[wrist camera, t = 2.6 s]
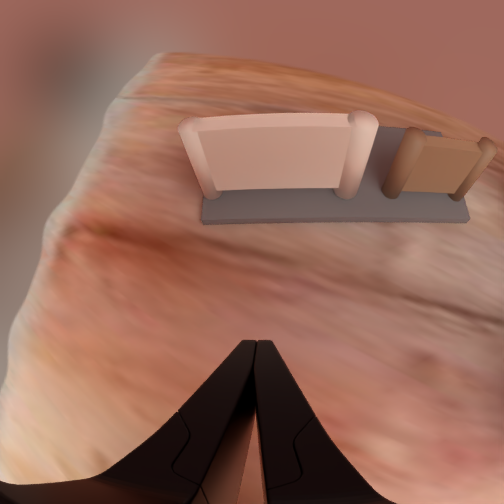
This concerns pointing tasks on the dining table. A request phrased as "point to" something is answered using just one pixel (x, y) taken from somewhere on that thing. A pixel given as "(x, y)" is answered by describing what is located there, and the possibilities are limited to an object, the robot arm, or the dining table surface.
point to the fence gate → (279, 151)
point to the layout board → (374, 186)
